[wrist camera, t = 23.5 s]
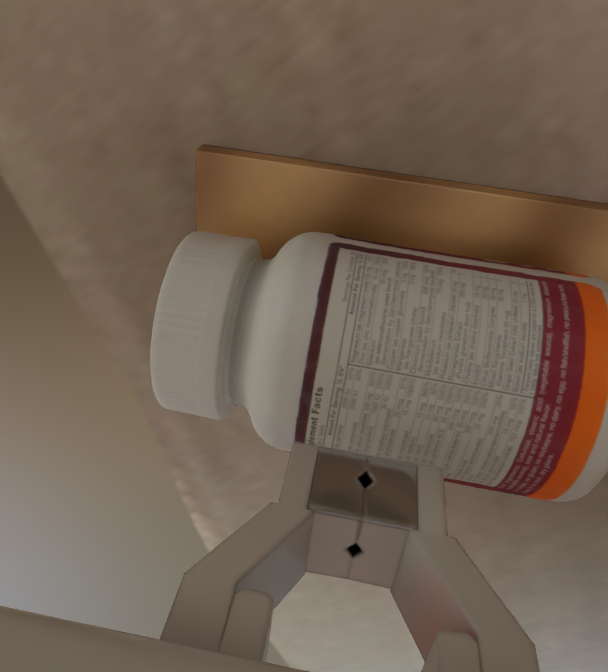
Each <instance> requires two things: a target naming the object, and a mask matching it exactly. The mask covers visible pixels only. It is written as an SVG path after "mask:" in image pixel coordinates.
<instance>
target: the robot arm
mask: <svg viewBox="0 0 608 672" xmlns="http://www.w3.org/2000/svg"><path fill="white" fill-rule="evenodd" d="M318 448H319V450H318ZM317 455H318V456H317ZM305 572H310V573H316V574H321V575H327V576H333V577H339V578H345V579H350V580H354V581H359V582H363V583H367V584H372V585H376V586H380V587H385V588H389V589H391V590H390V591H391V593H392V595H393V597H394V600H395V602H396V604H397V606H398V608H399V610H400V612H401V614H402V616H403V618H404V620H405V622H406V624H407V626H408V628H409V630H410V632H411V634H412V636H413V638H414V640H415V643H416V645H417V647H418V649H419V651H420V653H421V655H422V657H423V659H424V661H425V664H424V666H423V668H422V671H421V672H540V671H539V665H538V660H537V654H536V649H535V645H534V644H533V642H532V641H531V639H530V638H529V637H528V635H527V634H526V633H525V631H524V630H523V629H522V627H521V626H520V625H519V623H518V622H517V621H516V619H515V618H514V617H513V615H512V614H511V612H510V611H509V610H508V608H507V607H506V606H505V604H504V603H503V602H502V600H501V599H500V598H499V596H498V595H497V594H496V592H495V591H494V589H493V588H492V587H491V585H490V584H489V583H488V581H487V580H486V579H485V577H484V576H483V575H482V573H481V572H480V571H479V569H478V568H477V567H476V565H475V564H474V562H473V561H472V560H471V558H470V557H469V556H468V554H467V553H466V552H465V550H464V549H463V548H462V546H461V545H460V544H459V542H458V541H457V539H456V538H453V537H449V536H448V533H447V518H446V503H445V488H444V474H443V471H442V469H441V468H437V467H431V466H425V465H420V464H416V465H415V464H413V463H408V462H402V461H396V460H390V459H385V458H379V457H373V456H365V455H361V454H356V453H351V452H346V451H341V450H337V449H332V448H327V447H322V446H315V445H310V444H305V443H301V442H296V441H295V442H294V444H293V446H292V449H291V453H290V457H289V461H288V466H287V470H286V474H285V478H284V482H283V486H282V490H281V494H280V498H279V503H278V504H277V503H270V504H269V505H267V506H266V507H265V508H264V509H262V510H261V511H260V512H259V513H258V514H256V515H255V516H254V517H253V518H251V519H250V520H249V521H248V522H247V523H245V524H244V525H243V526H242V527H240V528H239V529H238V530H237V531H236V532H234V533H233V534H232V535H231V536H229V537H228V538H227V539H226V540H224V541H223V542H222V543H221V544H220V545H218V546H217V547H216V548H215V549H213V550H212V551H211V552H210V553H209V554H207V555H206V556H205V557H204V558H203V559H201V560H200V561H199V562H198V563H196V564H195V565H194V566H193V567H191V568H190V569H189V570H188V571H187V572H185V573H184V576H183V579H182V581H181V584H180V586H179V589H178V592H177V595H176V597H175V600H174V603H173V605H172V608H171V610H170V613H169V616H168V618H167V621H166V624H165V627H164V629H163V632H162V635H161V637H160V640H159V639H154V638H149V637H144V636H140V635H135V634H130V633H126V632H121V631H116V630H112V629H107V628H102V627H97V626H93V625H88V624H83V623H79V622H74V621H69V620H65V619H60V618H55V617H51V616H46V615H41V614H36V613H32V612H26V611H22V610H18V609H13V608H8V607H3V606H0V672H309V671H304V670H299V669H295V668H290V667H285V666H281V665H276V664H271V663H266V662H267V654H268V645H269V638H270V630H271V622H272V614H273V610H274V608H275V607H276V606H277V605H278V604H279V603H280V602H281V600H282V599H283V598H284V597H285V596H286V595H287V594H288V593H289V591H290V590H291V589H292V588H293V587H294V586H295V585H296V584H297V582H298V581H299V580H300V579H301V578H302V577H303V576H304V574H305Z"/></svg>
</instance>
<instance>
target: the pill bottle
mask: <svg viewBox="0 0 608 672" xmlns="http://www.w3.org/2000/svg"><path fill="white" fill-rule="evenodd" d="M150 365H151V379H152V387H153V391H154V393H155V397H156V399H157V401H158V402H159V404H160V405H161V406H162V407H164V408H166V409H168V410H172V411H177V412H182V413H188V414H193V415H199V416H203V417H206V418H210V419H216V420H225V419H227V418H228V417H229V416H230V415H231V413H232V411H233V410H234V407H235V405H238V406H241V407H244V408H245V409H247V411H248V413H249V415H250V418H251V422H252V424H253V426H254V429H255V430H256V432H257V433H258V435H259V436H260V437H261V438H262V439H263V440H264V441H265V442H266V443H267V444H269V445H270V446H272V447H274V448H277V449H279V450H283V451H288V452H291V449H292V446H293V444H294V442H295V441H296V442H301V443H305V444H310V445H315V446H322V447H327V448H332V449H337V450H341V451H346V452H351V453H356V454H361V455H365V456H373V457H379V458H385V459H390V460H396V461H402V462H408V463H413V464H415V465H416V464H420V465H425V466H431V467H437V468H441V469H442V471H443V474H444V481H447V482H452V483H457V484H461V485H466V486H472V487H476V488H483V489H488V490H494V491H499V492H504V493H509V494H514V495H521V496H526V497H530V498H536V499H541V500H548V501H556V502H567V501H572V500H576V499H578V498H581V497H583V496H585V495H586V494H588V493H589V492H590V491H591V490H592V489H593V488H594V487H595V486H596V485H597V484H598V483H599V482H600V481H601V480H602V478H603V477H604V476H605V475H606V473H607V472H608V283H607V282H605V281H604V280H602V279H599V278H596V277H591V276H587V275H581V274H575V273H569V272H563V271H557V270H549V269H544V268H540V267H534V266H524V265H517V264H512V263H506V262H499V261H493V260H487V259H478V258H475V257H466V256H461V255H455V254H449V253H442V252H435V251H429V250H424V249H418V248H411V247H405V246H399V245H392V244H386V243H380V242H375V241H369V240H364V239H358V238H353V237H346V236H342V235H338V234H327V233H320V232H307V233H303V234H300V235H298V236H296V237H294V238H292V239H291V240H290V241H288V242H287V243H286V244H285V245H284V246H283V247H282V248H281V249H280V251H279V252H278V253H277V255H276V256H275V257H274V258H273V259H262V253H261V249H260V245H259V243H258V241H257V240H255V239H251V238H245V237H233V236H228V235H223V234H216V233H210V232H202V231H197V232H192V233H190V234H189V235H187V236H186V237H185V238H184V239H183V240H182V241H181V243H180V244H179V246H178V247H177V249H176V251H175V253H174V255H173V257H172V259H171V261H170V263H169V266H168V268H167V271H166V274H165V277H164V280H163V283H162V286H161V290H160V293H159V297H158V302H157V306H156V311H155V317H154V323H153V330H152V339H151V355H150ZM318 450H319V448H318ZM317 456H318V455H317Z"/></svg>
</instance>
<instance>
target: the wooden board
mask: <svg viewBox="0 0 608 672" xmlns="http://www.w3.org/2000/svg"><path fill="white" fill-rule="evenodd" d="M196 203H197V231H202V232H210V233H216V234H223V235H228V236H233V237H245V238H251V239H255V240H257V241H258V243H259V245H260V249H261V253H262V259H273V258H274V257H275V256H276V255H277V253H278V252H279V251H280V249H281V248H282V247H283V246H284V245H285V244H286V243H287V242H288V241H290V240H291V239H292V238H294V237H296V236H298V235H300V234H303V233H307V232H320V233H327V234H338V235H342V236H346V237H353V238H358V239H364V240H369V241H375V242H380V243H386V244H392V245H399V246H405V247H411V248H418V249H424V250H429V251H435V252H442V253H449V254H455V255H461V256H466V257H475V258H478V259H487V260H493V261H499V262H506V263H512V264H517V265H524V266H534V267H540V268H544V269H549V270H557V271H563V272H569V273H575V274H581V275H587V276H591V277H596V278H599V279H602V280H604V281H605V282H607V283H608V204H602V203H596V202H589V201H582V200H575V199H568V198H561V197H555V196H548V195H541V194H534V193H527V192H520V191H514V190H507V189H500V188H493V187H486V186H480V185H473V184H466V183H459V182H452V181H445V180H439V179H432V178H425V177H418V176H411V175H404V174H398V173H391V172H384V171H377V170H370V169H363V168H357V167H350V166H343V165H336V164H329V163H322V162H316V161H309V160H302V159H295V158H288V157H282V156H275V155H268V154H261V153H254V152H247V151H241V150H234V149H227V148H220V147H213V146H206V145H201V146H200V147H199V148H198V149H197V150H196Z"/></svg>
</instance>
